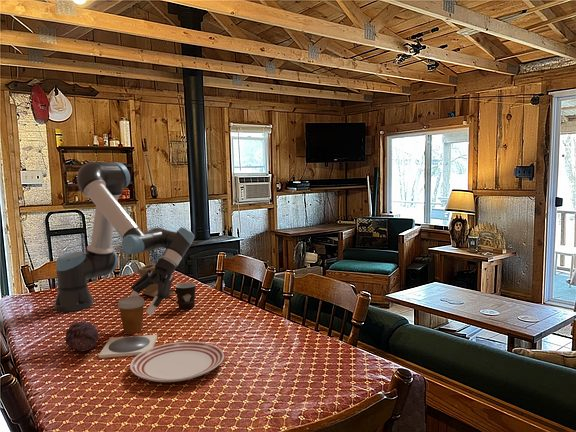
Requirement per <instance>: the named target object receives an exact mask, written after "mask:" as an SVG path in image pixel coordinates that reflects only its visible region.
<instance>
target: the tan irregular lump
mask: <svg viewBox="0 0 576 432" xmlns="http://www.w3.org/2000/svg"><path fill="white" fill-rule="evenodd" d="M155 264H156V263H150V264H146V265H143V266H141V267H140V268H139V269H138V274H139V278H141V277H142V276H143V275H145V274H146V272H147V271H148V270H151V271H152V272H153V271H154V270H155ZM174 293H175V292H174V291H170V293H169V296H171V295H173V294H174ZM142 294H144V295H147V296H149V297H153V298H155V296H156V295H157V294H158V284H151V285H149V286H148V287H147V288H145V289H144V290H142ZM157 297H158V296H157Z"/></svg>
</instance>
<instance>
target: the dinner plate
mask: <svg viewBox="0 0 576 432" xmlns="http://www.w3.org/2000/svg"><path fill="white" fill-rule="evenodd" d="M224 358H225V354H224V351H223V349H222V348H220V347H218V346H216V345H214V344H211V343H208V342H207V343H206V342H202V341H178V342H169V343H165V344H160V345H157V346H154V347H153V348H151V349H148V350H146V351H144V352H142V353H140V354H139V355H135V357H134V358H132V360H131V362H130V363H129V369H130V371H131V373H133V374H134V375H135V376H137V377H138V378H141V379H143V380H145V381H152V382H156V383H174V382H175V383H176V382H182V381H183V382H184V381H188V380H192V379H194V378H198V377H200V376H201V377H202V376H203V375H206V374H208V373H210V372H211V371H213V370H214V369H216V368H217V367H218V366H219V365H220V364H221V363H223V360H224Z"/></svg>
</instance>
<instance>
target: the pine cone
mask: <svg viewBox="0 0 576 432" xmlns="http://www.w3.org/2000/svg"><path fill="white" fill-rule="evenodd" d="M99 336H100V334H99V331H98V329H97V327H96V326H95V325H94V324H93V323H91V322H90V321H76V322H75V323H71V324H69V327H68V329H67V330H66V331H65V338H64V339H65V344H66V345H67V347H68V348H70V349H76V350H78V351H82V352H83V351H84V352H85V351H88V350H91V349H92V348H94V347H95V346H96V345H97V343H98V340H99Z"/></svg>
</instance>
